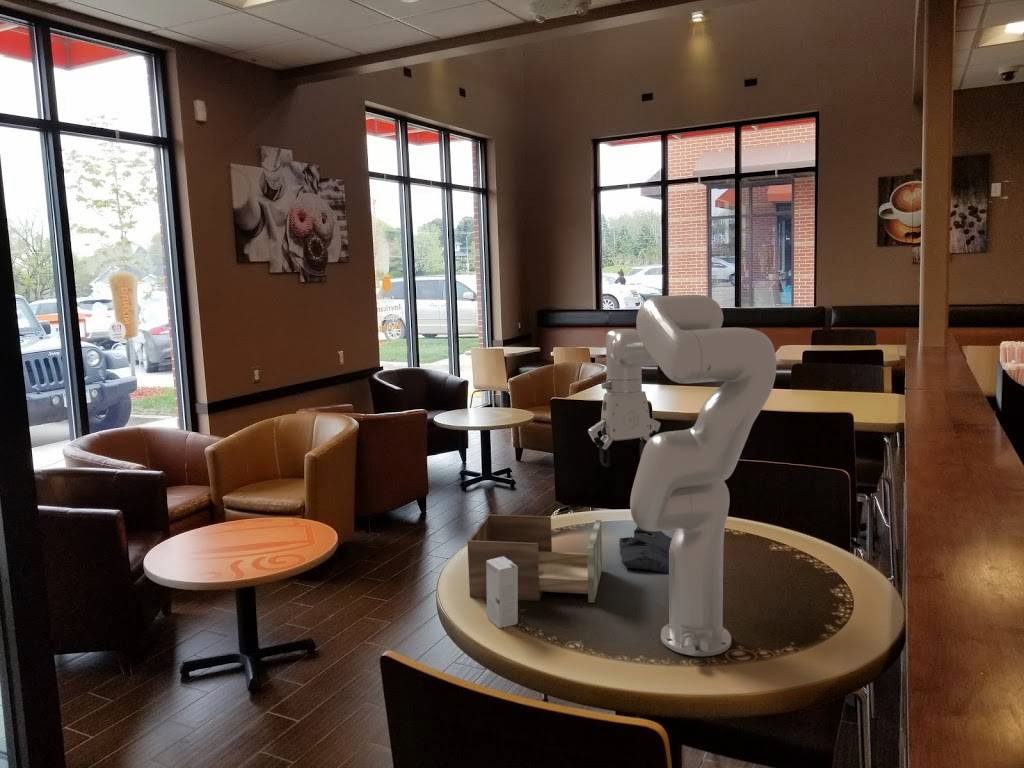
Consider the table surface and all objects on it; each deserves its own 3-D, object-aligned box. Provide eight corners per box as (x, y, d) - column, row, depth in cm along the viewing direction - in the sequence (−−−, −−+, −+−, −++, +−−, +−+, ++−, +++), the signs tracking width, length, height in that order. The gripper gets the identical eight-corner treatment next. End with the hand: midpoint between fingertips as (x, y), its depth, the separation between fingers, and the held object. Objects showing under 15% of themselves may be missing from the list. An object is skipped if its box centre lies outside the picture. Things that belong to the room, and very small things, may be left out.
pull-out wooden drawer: (594, 602, 156) (593, 548, 155) (522, 598, 160) (520, 545, 158) (601, 569, 174) (601, 519, 172) (537, 566, 177) (536, 517, 175)
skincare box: (485, 617, 152) (483, 559, 150) (505, 612, 154) (503, 555, 152) (499, 629, 147) (497, 570, 145) (520, 624, 149) (518, 565, 147)
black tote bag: (612, 573, 174) (612, 553, 173) (620, 539, 195) (620, 522, 194) (680, 577, 170) (680, 556, 169) (681, 542, 191) (681, 524, 191)
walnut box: (539, 600, 159) (537, 544, 157) (469, 596, 162) (467, 541, 160) (552, 568, 176) (550, 516, 175) (489, 565, 179) (487, 514, 178)
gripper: (596, 391, 158) (597, 472, 160) (668, 385, 164) (668, 462, 166) (580, 387, 165) (582, 464, 167) (650, 381, 171) (650, 455, 173)
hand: (625, 463), depth 167 cm, fingers open, 9 cm apart
